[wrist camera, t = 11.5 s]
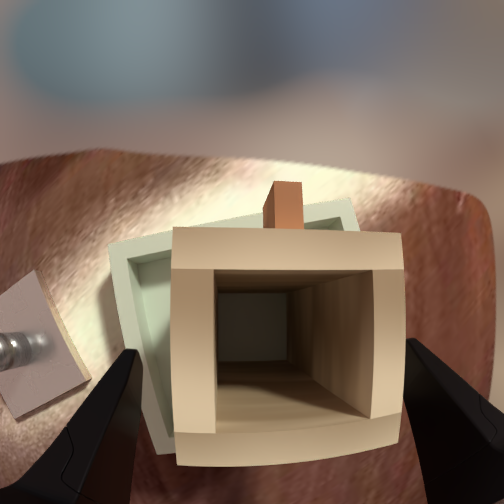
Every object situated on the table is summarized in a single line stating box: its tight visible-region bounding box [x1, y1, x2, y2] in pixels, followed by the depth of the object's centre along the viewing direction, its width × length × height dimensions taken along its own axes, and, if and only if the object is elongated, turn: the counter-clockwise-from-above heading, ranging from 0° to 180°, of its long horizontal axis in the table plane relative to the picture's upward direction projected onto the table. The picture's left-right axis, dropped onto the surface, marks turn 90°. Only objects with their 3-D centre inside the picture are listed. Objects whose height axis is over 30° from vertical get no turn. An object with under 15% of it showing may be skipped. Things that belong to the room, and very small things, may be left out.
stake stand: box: [0, 270, 92, 419], centre depth 14 cm, size 8×8×4 cm
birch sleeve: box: [170, 181, 406, 467], centre depth 13 cm, size 8×6×11 cm
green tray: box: [108, 198, 360, 455], centre depth 17 cm, size 12×14×3 cm
